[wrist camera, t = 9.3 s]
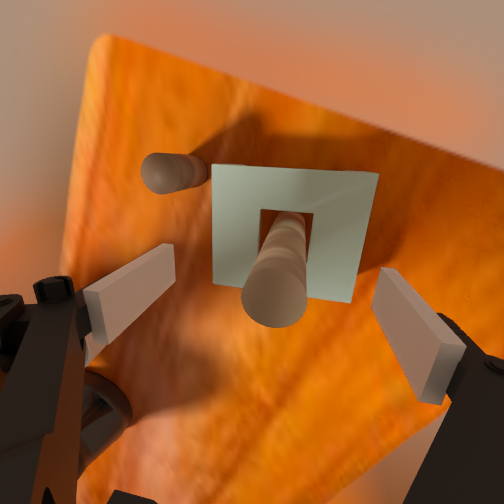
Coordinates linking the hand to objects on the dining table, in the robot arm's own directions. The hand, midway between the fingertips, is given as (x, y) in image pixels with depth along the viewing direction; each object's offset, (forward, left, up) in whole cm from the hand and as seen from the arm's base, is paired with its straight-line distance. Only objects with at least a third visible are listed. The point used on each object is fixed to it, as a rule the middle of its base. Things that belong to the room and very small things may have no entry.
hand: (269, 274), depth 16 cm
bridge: (0, 0, -13) cm, 13 cm away
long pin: (+1, 0, -13) cm, 13 cm away
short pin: (-11, +5, -13) cm, 18 cm away
